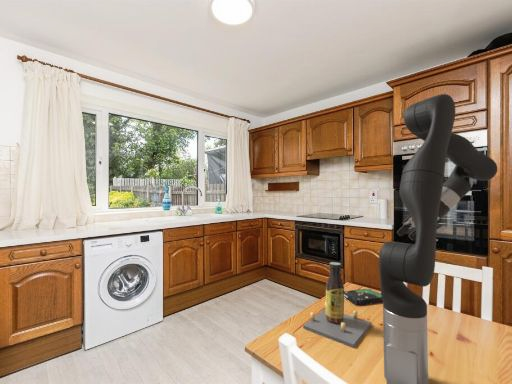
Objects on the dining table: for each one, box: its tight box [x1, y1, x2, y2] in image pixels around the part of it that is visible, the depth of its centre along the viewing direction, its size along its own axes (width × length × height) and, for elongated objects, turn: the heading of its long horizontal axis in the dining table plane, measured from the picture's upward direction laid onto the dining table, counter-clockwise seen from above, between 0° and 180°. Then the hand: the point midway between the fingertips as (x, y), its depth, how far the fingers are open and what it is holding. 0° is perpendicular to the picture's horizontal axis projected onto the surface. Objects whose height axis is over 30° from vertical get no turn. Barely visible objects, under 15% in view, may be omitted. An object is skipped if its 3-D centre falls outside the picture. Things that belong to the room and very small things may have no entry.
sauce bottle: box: [324, 261, 345, 323], centre depth 89 cm, size 7×6×20 cm
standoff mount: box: [302, 301, 373, 349], centre depth 86 cm, size 17×17×4 cm
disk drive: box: [344, 288, 383, 307], centre depth 109 cm, size 10×3×15 cm
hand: (404, 236), depth 87 cm, fingers open, 8 cm apart
